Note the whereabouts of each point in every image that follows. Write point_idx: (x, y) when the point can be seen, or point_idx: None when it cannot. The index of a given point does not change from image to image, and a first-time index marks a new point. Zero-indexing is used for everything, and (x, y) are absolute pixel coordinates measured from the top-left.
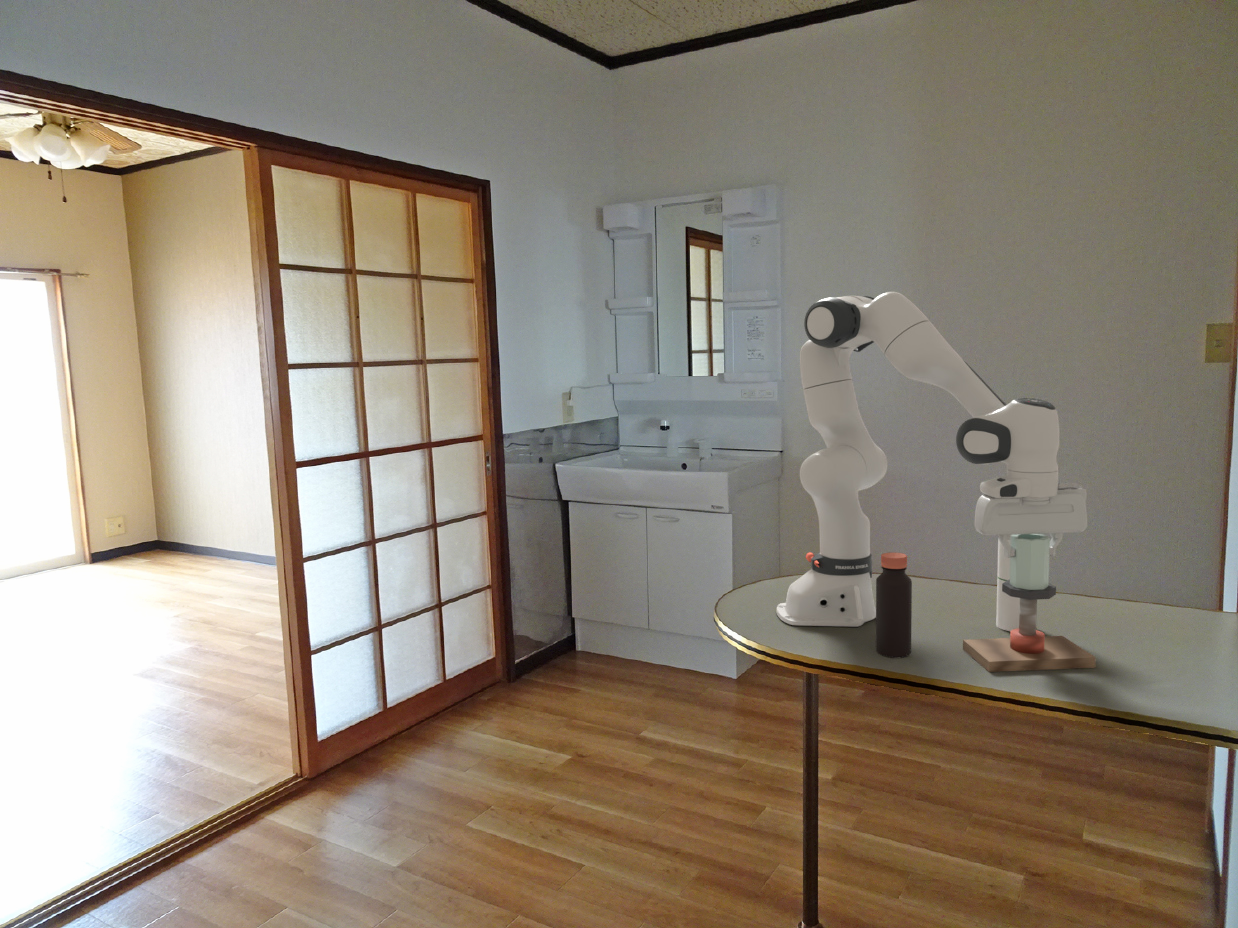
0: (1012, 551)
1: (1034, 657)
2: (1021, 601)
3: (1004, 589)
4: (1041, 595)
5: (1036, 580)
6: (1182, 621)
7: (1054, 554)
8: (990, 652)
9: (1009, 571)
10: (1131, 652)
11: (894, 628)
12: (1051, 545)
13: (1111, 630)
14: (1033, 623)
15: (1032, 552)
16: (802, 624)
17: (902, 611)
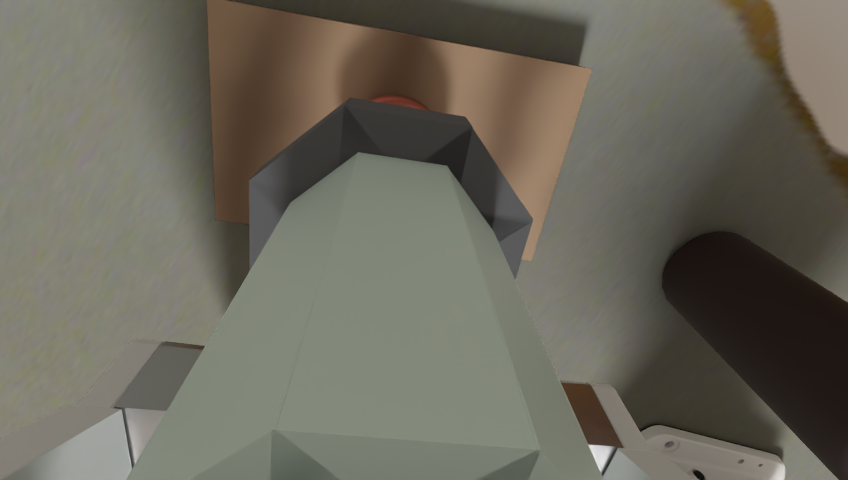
0: (593, 421)
1: (423, 61)
2: None
3: None
4: (398, 110)
5: (408, 179)
6: None
7: (145, 340)
8: (528, 145)
9: None
10: (25, 95)
11: (808, 278)
12: (116, 446)
13: (12, 276)
14: None
15: (479, 308)
16: (763, 452)
17: (837, 309)
